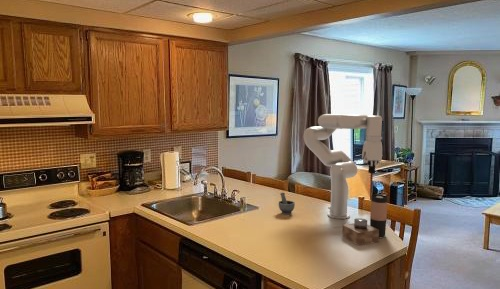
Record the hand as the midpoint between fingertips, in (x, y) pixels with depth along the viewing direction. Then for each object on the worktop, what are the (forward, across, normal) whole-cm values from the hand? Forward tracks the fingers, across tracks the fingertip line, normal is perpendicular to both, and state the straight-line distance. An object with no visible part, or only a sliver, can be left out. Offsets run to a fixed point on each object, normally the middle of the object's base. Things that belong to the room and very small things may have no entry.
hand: (371, 173), depth 193 cm
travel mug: (+29, +6, +14) cm, 33 cm away
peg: (+28, +17, +15) cm, 37 cm away
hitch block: (+29, +18, +15) cm, 37 cm away
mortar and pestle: (+30, +33, -34) cm, 56 cm away
